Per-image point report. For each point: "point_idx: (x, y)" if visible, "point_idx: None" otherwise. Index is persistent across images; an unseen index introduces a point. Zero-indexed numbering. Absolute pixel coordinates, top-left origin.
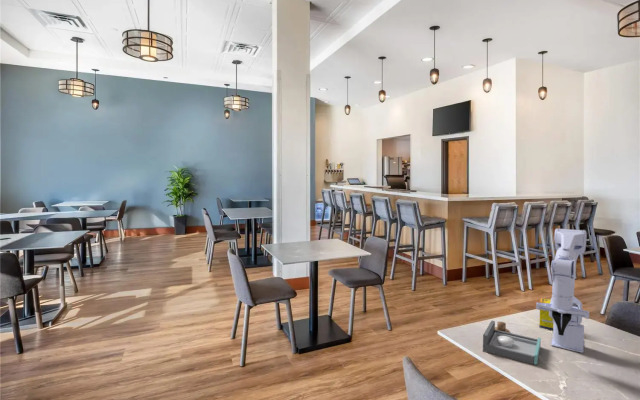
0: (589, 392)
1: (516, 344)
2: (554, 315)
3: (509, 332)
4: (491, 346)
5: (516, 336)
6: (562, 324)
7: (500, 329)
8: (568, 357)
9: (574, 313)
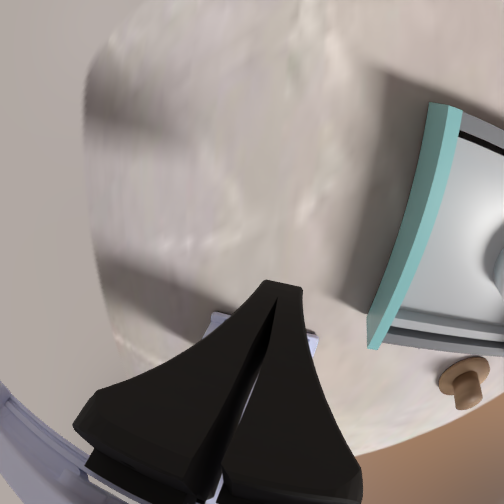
0: None
1: (478, 280)
2: (332, 501)
3: (445, 375)
4: None
5: (457, 340)
6: (237, 362)
7: (474, 376)
8: (266, 259)
9: (14, 457)
